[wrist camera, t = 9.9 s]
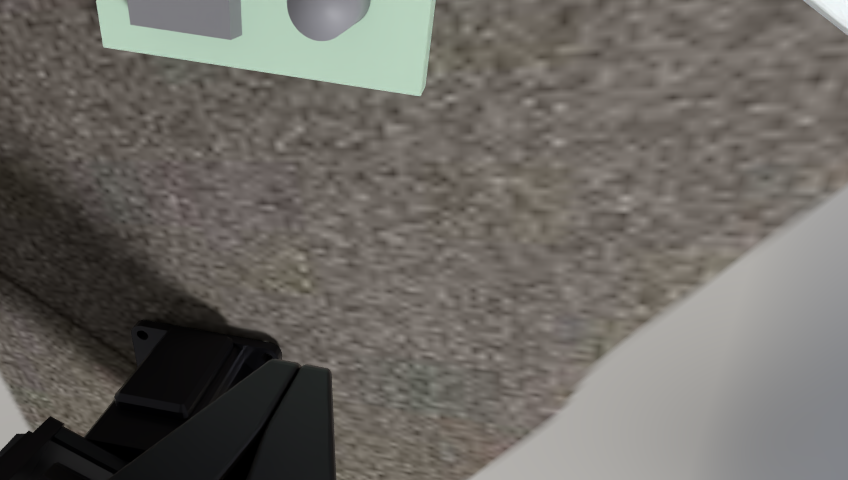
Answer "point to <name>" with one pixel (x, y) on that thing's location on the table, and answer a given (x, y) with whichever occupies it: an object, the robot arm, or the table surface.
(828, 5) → the external hard drive
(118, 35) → the board
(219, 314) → the table surface
